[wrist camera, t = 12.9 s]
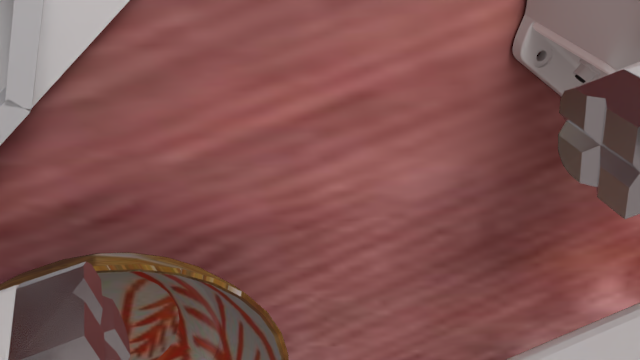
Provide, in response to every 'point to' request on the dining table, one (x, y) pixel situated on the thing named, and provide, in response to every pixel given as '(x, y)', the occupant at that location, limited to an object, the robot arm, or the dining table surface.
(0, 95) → the carrier board
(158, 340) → the bowl
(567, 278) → the dining table surface
